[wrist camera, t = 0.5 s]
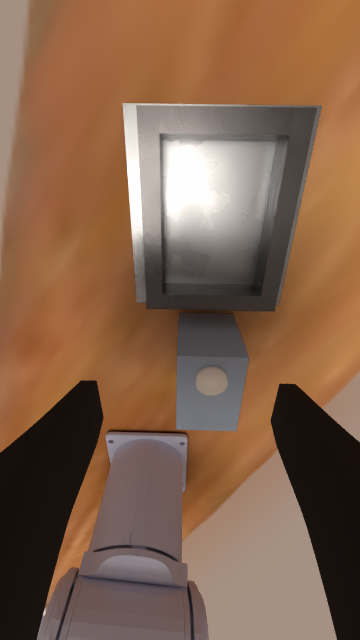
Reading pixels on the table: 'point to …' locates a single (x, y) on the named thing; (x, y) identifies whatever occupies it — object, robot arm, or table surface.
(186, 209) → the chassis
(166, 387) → the table surface
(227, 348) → the block
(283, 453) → the robot arm
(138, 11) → the table surface
